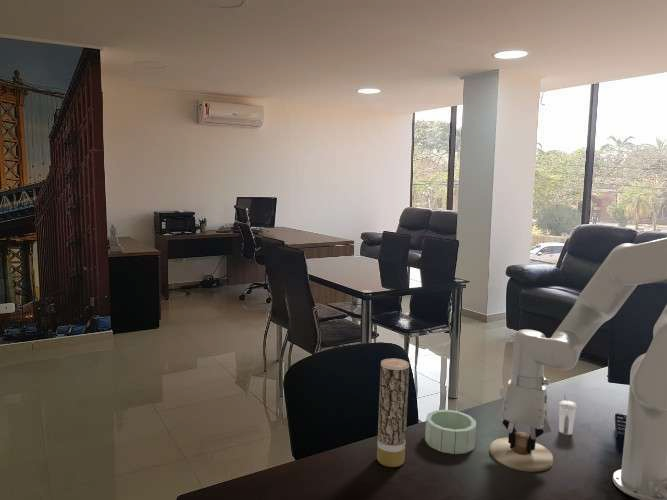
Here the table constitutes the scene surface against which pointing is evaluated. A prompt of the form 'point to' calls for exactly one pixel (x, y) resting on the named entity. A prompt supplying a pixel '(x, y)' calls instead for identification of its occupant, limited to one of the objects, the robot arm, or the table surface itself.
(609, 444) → the table surface
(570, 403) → the milkshake
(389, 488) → the table surface
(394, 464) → the log-textured cylinder
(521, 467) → the lid
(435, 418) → the bowl
